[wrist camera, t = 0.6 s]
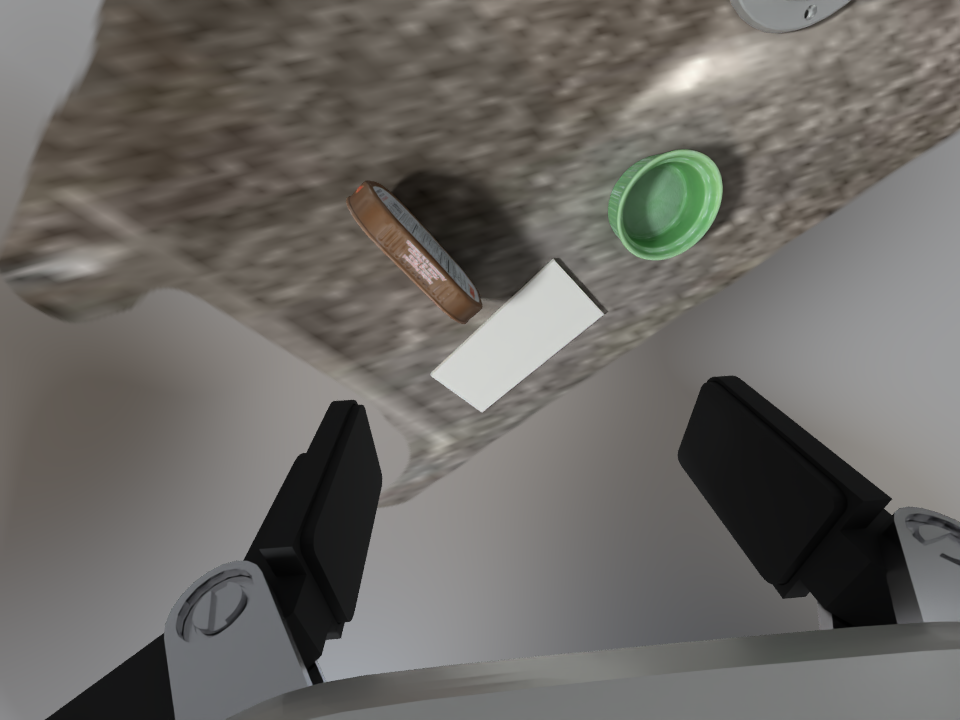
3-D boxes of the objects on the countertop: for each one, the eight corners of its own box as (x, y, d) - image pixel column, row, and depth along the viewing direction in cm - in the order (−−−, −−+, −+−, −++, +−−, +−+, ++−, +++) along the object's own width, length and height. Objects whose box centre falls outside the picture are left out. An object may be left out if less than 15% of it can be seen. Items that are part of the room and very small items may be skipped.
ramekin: (669, 123, 31) (697, 121, 27) (710, 204, 34) (739, 212, 31) (583, 198, 34) (598, 206, 30) (629, 265, 37) (647, 279, 34)
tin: (358, 193, 33) (328, 209, 26) (380, 168, 32) (355, 178, 25) (464, 304, 39) (464, 341, 32) (486, 287, 38) (490, 321, 31)
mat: (552, 258, 37) (554, 260, 36) (602, 312, 40) (604, 314, 40) (430, 372, 44) (430, 375, 44) (481, 409, 48) (481, 412, 47)
